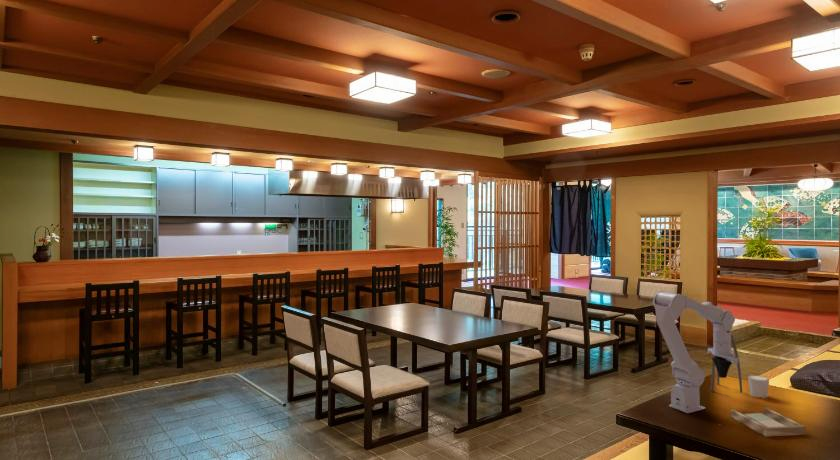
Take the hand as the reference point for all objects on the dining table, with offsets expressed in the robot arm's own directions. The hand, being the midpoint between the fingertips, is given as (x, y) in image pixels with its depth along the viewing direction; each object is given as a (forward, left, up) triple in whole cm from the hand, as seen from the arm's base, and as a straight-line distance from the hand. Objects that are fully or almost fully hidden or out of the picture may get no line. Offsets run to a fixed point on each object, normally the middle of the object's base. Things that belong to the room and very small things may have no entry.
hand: (722, 377), depth 192 cm
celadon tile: (-6, -17, -10) cm, 21 cm away
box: (-7, -20, -9) cm, 23 cm away
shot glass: (+18, -2, -10) cm, 21 cm away
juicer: (+14, +10, -10) cm, 20 cm away
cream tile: (-8, -23, -10) cm, 26 cm away
